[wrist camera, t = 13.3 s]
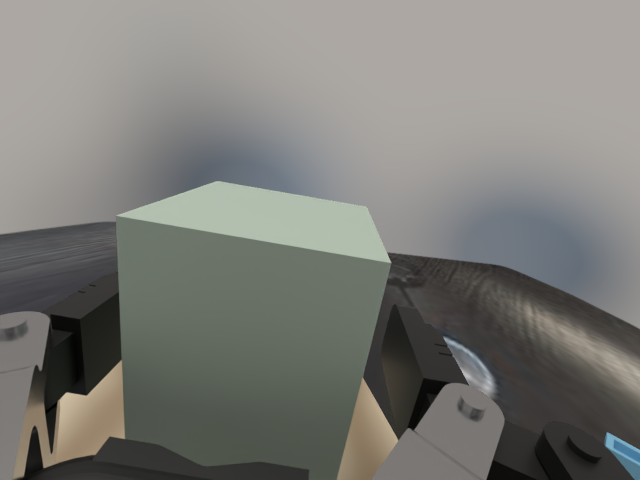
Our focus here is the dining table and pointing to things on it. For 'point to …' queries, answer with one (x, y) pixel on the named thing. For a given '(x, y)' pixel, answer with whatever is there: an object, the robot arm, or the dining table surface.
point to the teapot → (624, 454)
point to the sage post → (247, 324)
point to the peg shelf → (108, 420)
